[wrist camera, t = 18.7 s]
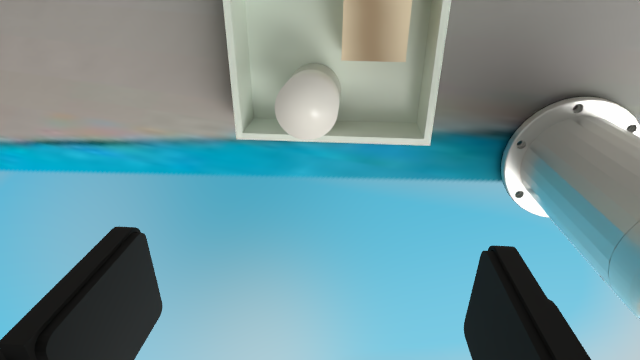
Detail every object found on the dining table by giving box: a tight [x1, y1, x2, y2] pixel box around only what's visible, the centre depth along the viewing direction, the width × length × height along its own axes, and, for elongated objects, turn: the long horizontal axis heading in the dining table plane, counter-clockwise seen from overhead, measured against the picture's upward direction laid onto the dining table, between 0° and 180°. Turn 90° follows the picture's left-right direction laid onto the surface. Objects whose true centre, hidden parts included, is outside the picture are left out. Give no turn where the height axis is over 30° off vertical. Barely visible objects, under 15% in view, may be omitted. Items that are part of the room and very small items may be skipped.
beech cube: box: [341, 0, 412, 62], centre depth 31 cm, size 5×5×5 cm
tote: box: [223, 0, 451, 146], centre depth 33 cm, size 17×13×5 cm
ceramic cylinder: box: [275, 63, 341, 140], centre depth 33 cm, size 5×5×7 cm
